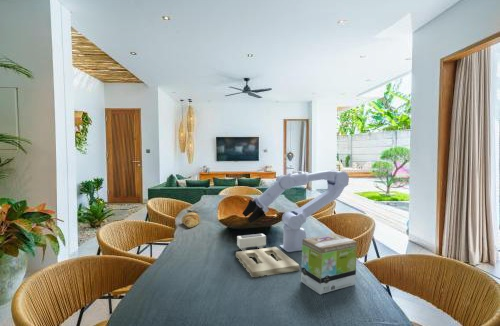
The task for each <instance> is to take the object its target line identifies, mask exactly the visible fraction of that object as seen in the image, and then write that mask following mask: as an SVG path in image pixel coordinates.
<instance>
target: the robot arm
mask: <svg viewBox="0 0 500 326" xmlns="http://www.w3.org/2000/svg"><path fill="white" fill-rule="evenodd" d="M349 178H350V175H349V174H348V173H347V172H346V171H343V170H342V171H339V170H336V169H331V170H329V169H326V170H321V171H316V172H311V173H306V172H303V171H301V170H300V171H297V172H296V173H288V172H287V175H286V174H281V175H279V176H277V177H276V180H275V181H274V182H273V183H272V184H271V185H270V186H269V187H268V188H267V189H266V190H264V191H263V192H262V193H261V194H260V195H259V196H258V197H257V196H255V197H254V198H253V199H249V200H248V203H247V205H246V206H245V209H243V212H242V215H243V216H244V217H245V218H246V217H247V219H246V220H247V222H249V223H250V224H252V223H253V222H255V221H257V220H259V219H261V218H264V217H267V215H266V214H267V213H268V212H269V211H270V209H269V208H268V207H269V206H271V205H272V203H274V202H275V201H276V200H277V199H278V198H279V197H280V196H281V195H282V194H283V193H284V192H285V191H286V190H290V189H292V188H297V187H301V186H305V185H307V184H308V183H309V182H314V181H321V180H325V181H326V183H327V184H326V185H327V189H326V190H325V191H324V192H322V193H321V194H319V195H317V196H316V197H315V198H313V199H311V200H310V201H308V202H307V203H305V204H303V205H302V206H301V207H299V208H294V209H292V210H290V211H289V210H288V211H286V212H284V213H283V214H282V215H281V216H282V217H281V221H282V223H283V229H282V231H283V244H280V245H279V247H280V248H281V249H282V250H284V251H286V252H287V253H292V252H298V251H302V241H303V239H306V238H307V234H306V231H305V229H304V228H303V227H302V226H303V225H304V224H305V223H306V222H307V220H308V219H307V218H309V217H310V216H312V215H314V214H315V213H316V212H318V211H320V210H321V209H322V208H324V207H326V206H328V205H329V204H330V203H332V202H333V201H335V200H337V199H339V197H340V196H341V195H342V193H343V191H344V189H345V188H346V187H347V186H349V182H350V179H349Z"/></svg>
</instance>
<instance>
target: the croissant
mask: <svg viewBox="0 0 500 326" xmlns="http://www.w3.org/2000/svg"><path fill="white" fill-rule="evenodd" d="M181 222H182V223H183V225H184V226H186V228H193V227H196V226H198V225H199V224H200V216H199V214H197V213H196V212H194V211H191V212H187V213H186V214H184V215H183V216H182V218H181Z"/></svg>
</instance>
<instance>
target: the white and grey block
mask: <svg viewBox="0 0 500 326" xmlns="http://www.w3.org/2000/svg"><path fill="white" fill-rule="evenodd" d="M236 240H237V241H236V246H237V247H238V249H239V250H240V249H241V250H242V251H247V248H254V247H256V248H257V249H258V248H259V249H263V248H264V246H266V245H267V235H265V234H264V233H256V234H254V233H253V234H244V235H237V236H236ZM241 250H240V251H241Z"/></svg>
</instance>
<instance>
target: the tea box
mask: <svg viewBox="0 0 500 326" xmlns="http://www.w3.org/2000/svg"><path fill="white" fill-rule="evenodd" d="M357 251H358V242H357V241H356V240H354V239H351V238H348V237H346V236H343V235H340V234H338V233H333V234H331V233H330V234H327V235H326V234H325V235H320V236H314V237H312V236H311V237H308V238H307V237H306V239H303V241H302V250H301V268H300V269H301V273H300V282H301V283H303V284H304V285H305V286H306V287H308V288H310V289H311V290H313V291H314V292H316V293H317V294H318V295H320V296H321V295H324V294H325V293H330V292H334V291H336V290H340V289H344V288H348V287H352V286H355V285H356V279H357V277H356V276H357V253H358V252H357Z"/></svg>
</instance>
